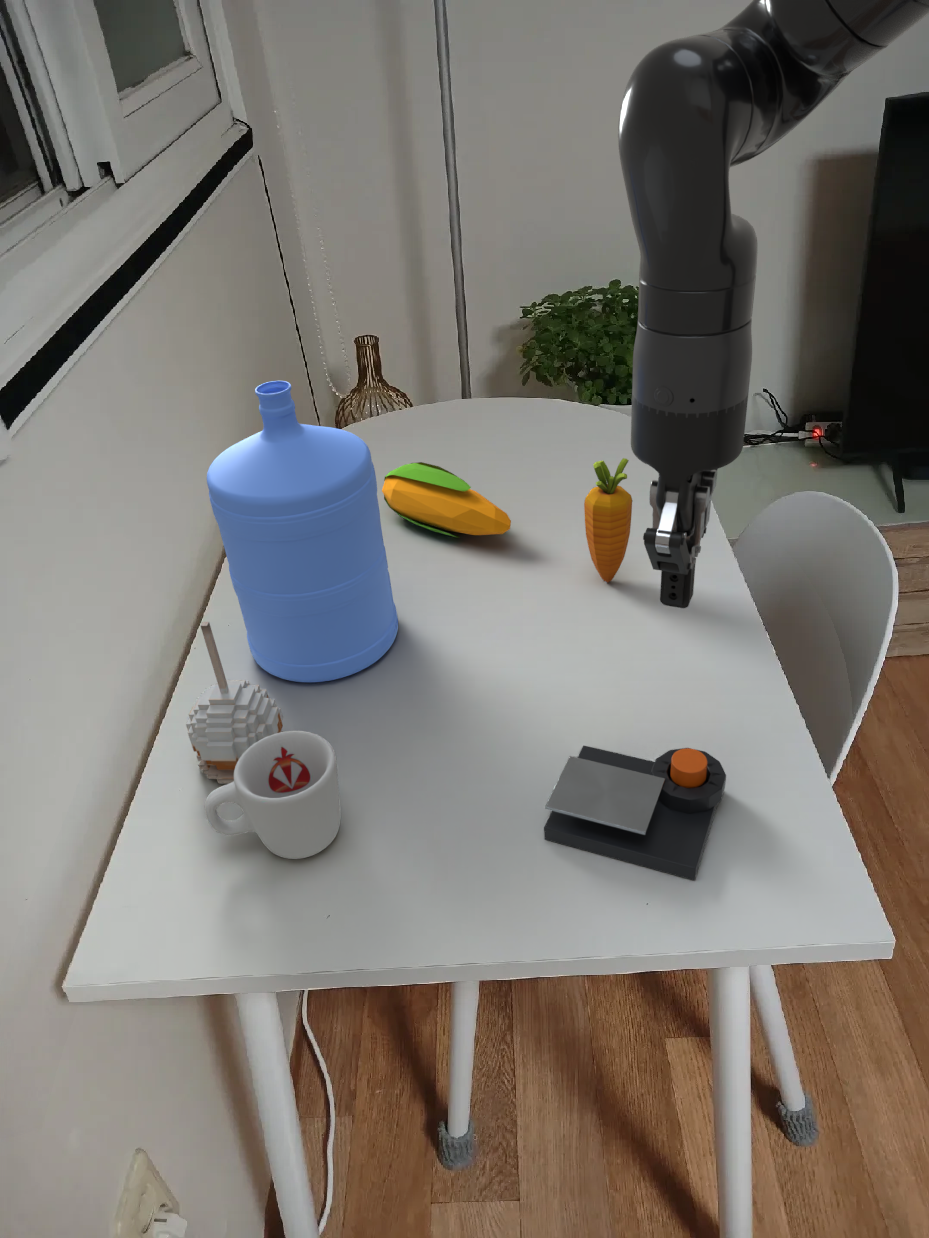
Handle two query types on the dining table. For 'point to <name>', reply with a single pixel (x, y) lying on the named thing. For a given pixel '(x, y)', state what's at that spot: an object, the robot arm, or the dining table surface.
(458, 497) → the corn
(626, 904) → the dining table surface
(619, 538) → the carrot
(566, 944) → the dining table surface
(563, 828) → the scale
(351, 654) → the water jug
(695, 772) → the button
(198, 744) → the caramel apple
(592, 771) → the plate
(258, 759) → the cup
